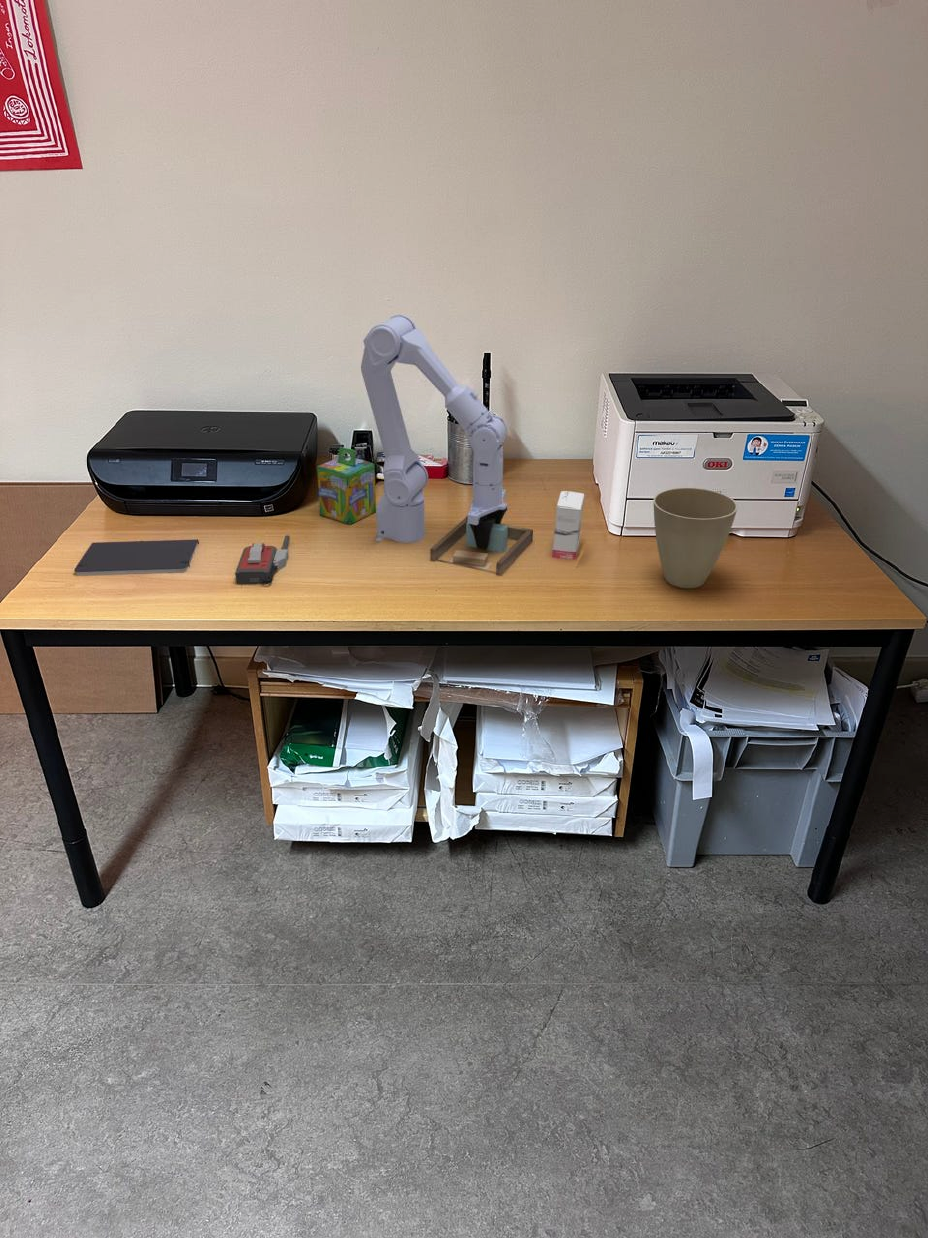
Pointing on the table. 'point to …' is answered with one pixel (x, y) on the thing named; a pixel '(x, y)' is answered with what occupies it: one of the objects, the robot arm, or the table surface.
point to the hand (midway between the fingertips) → (486, 543)
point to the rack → (523, 541)
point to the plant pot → (691, 532)
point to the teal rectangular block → (496, 538)
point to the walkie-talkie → (261, 563)
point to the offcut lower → (478, 566)
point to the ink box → (568, 525)
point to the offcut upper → (470, 558)
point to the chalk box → (346, 488)
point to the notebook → (137, 557)
